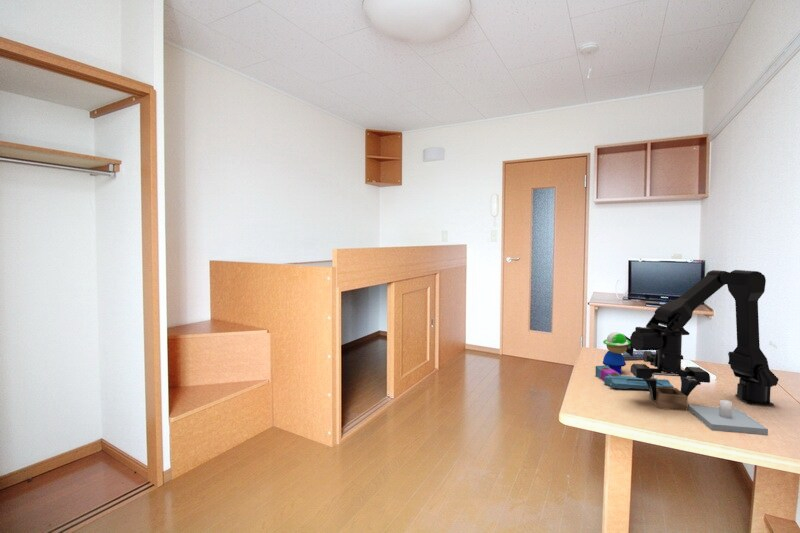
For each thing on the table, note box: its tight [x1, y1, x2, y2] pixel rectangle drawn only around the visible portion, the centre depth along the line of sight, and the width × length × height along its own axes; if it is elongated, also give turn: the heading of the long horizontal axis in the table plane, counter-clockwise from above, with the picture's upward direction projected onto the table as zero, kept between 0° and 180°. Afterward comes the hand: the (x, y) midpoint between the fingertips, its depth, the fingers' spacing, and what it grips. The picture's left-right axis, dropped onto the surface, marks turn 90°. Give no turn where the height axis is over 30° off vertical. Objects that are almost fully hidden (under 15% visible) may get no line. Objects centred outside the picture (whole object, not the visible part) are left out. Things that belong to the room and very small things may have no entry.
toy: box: [602, 331, 635, 375], centre depth 141 cm, size 9×9×15 cm
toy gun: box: [595, 365, 675, 390], centre depth 129 cm, size 4×20×15 cm
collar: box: [649, 387, 689, 411], centre depth 113 cm, size 7×7×4 cm
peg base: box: [687, 399, 769, 436], centre depth 101 cm, size 12×12×6 cm
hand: (667, 400), depth 113 cm, fingers closed on collar, 7 cm apart
